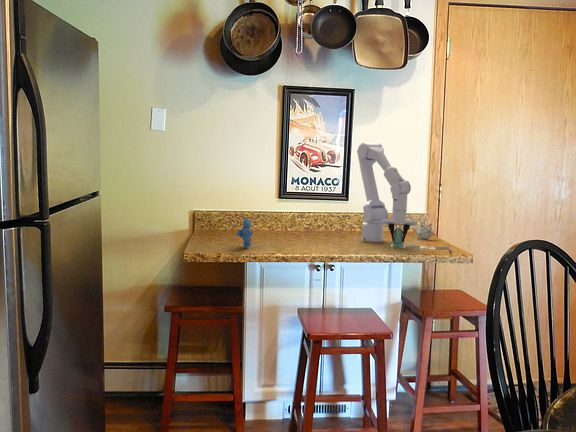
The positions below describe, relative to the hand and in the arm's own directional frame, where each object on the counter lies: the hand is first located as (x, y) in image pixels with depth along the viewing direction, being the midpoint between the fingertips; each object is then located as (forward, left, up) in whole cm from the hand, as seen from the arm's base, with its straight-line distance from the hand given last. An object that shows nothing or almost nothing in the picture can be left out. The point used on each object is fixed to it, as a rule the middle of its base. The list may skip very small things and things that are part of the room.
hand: (398, 242), depth 222 cm
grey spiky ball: (+12, +23, -3) cm, 26 cm away
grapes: (-62, -16, -3) cm, 64 cm away
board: (+9, 0, -3) cm, 9 cm away
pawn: (0, 0, -2) cm, 2 cm away
